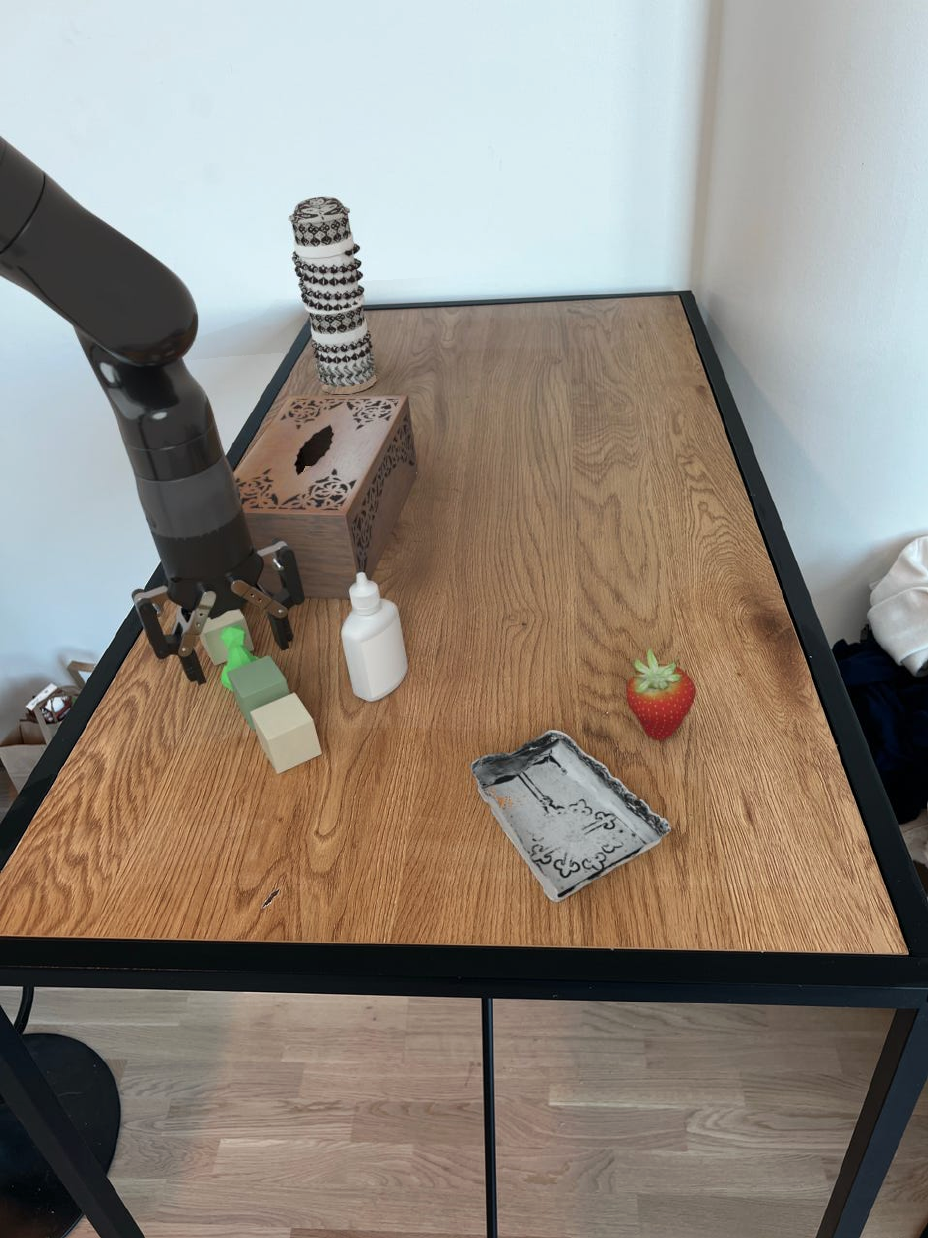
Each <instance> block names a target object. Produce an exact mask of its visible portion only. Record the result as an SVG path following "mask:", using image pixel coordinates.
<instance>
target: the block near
mask: <svg viewBox="0 0 928 1238" xmlns="http://www.w3.org/2000/svg"><path fill="white" fill-rule="evenodd" d="M250 713H251V716H252V719H253V723H254V726H255V729H256V730H255V732H256V736H257V738H258V742H259V744H260V747H261V748H262V750H263V752H264V754H265V756H266V757H267V759H268V760H269V762H270V764H271V765H272V767H273V769H274V771H275V773H276V774H277V775H279V774H282V773H283V772H286V771H288V770H290V769H293V768H294V767H296V766H299V765H301V764H303V763H305V762H307V761H309V760H313V759H314V758H315V757H318V756H320V755H322V754H323V752H322V748H321V744H320V741H319V737H318V733H317V729H316V724H315V722H314V719H313V718H312V716H311V714H310V713H309V711H308V710H307V708H306V706H304V704H303V702H302V700H300V698H299V697H298V695H297V694H296V692H292V693H290V695H288V696H285V697H283V698H281V699H278V700H276V701H274V702H271V703H269V704H267V705H264V706H262V707H260V708H257V709H255V710H253V711H251V712H250Z"/></svg>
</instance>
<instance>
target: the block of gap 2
mask: <svg viewBox="0 0 928 1238" xmlns="http://www.w3.org/2000/svg"><path fill="white" fill-rule="evenodd" d="M227 675H228V678H229V681H230V684H231V687H232V690H233V692H232V693H233V696H234V699H235V702H236V704H237V707H238V709H239V711H240V712H241V714H242V716H243V717H244V719H245V721H246V722H247V724H248V726H249V727H250V729H251V731H252V732H254V731H256V729H255V726H254V723H253V719H252V716H251V713H250V712H251V711H253V710H255V709H257V708H260V707H262V706H264V705H267V704H269V703H271V702H274V701H276V700H278V699H281V698H283V697H285V696H288V695H290V694H291V692H290V689H289V685H288V681H287V678H286V677H285V675H284V674H283V672H282V671H281V669H280V668H279V666H278V665H277V664H276V662H275V660H274V659H273V658H272V655H270V654H268V655H265V656H263V657H259V659H258V660H255V661H253V662H251V663H248V664H246V665H243V666H241V667H238V668H236V669H234V670H231V671H229V672H227Z"/></svg>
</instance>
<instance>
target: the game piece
mask: <svg viewBox="0 0 928 1238" xmlns="http://www.w3.org/2000/svg"><path fill="white" fill-rule="evenodd" d="M245 637H246V634H245V632H244V631H243V630H242V628H241V627H240V626H239V625H234V626H230V627H226V628H223V631H222V634H221V637H220V638H221V640H222V642H223V643H224V644H225V645H226V647H227V648H228V649H229V654H228V661H226V665H225V666H224V667H223V669H222V672H221V676H220V680H221V684H222V686H223V687H225V688H226V689H228V690H229V691H231V692H232V693H233V690H232V687H231V684H230V681H229V678H228V675H227V672H229V671H231V670H234V669H236V668H238V667H241V666H243V665H246V664H248V663H251V662H253V661H255V660H258V659H260V657H258V656H256V655H253V654H252V653H251V651H250V652H249V651H248V650H247V649H246V648H245V647H244V646H243V643H244V640H245Z"/></svg>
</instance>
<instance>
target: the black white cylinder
mask: <svg viewBox="0 0 928 1238" xmlns="http://www.w3.org/2000/svg"><path fill="white" fill-rule="evenodd" d="M350 213H351V209H350V208H349V207H347V206H345V205H344V204H343V203H342V202H341V201H340V200H339V199H338V198H337V197H333V196H318V197H311V198H307V199H304V200H302V201H299V202H298V203H297V204H296V205H295V207H294V210H293V213H291V215H289V216H288V221H290V224H291V227H292V233H293V237H294V240H293V247H294V251H293V252H292V257H291V261H292V262H293V264H294V265H295V267H294V272H295V276H296V277H298V278H299V280H298V281H299V282H298V284H297V285H298V287H299V288H300V291H301V294H300V297H301V300H302V303H304V306H303V307H304V310H305V311H306V312H308V314H309V321H310V324H311V325H310V332H311V338H312V339H311V342H310V343H311V348H313V349H314V350H313V357H314V358H315V359H316V360H315V369H316V371H317V379H318V381H319V383H320V382H322V383H324V384H325V385H329V384H330V385H331V386H333V387H336V386H337V385H340V386H341V387H346V385H351V386H354V385H355V384H359V383H360V384H363V383H364V382H365V381H369V380H370V379H371V377H373V376H374V375H375V374H376V371H377V367H376V364H375V363H374V362H375V360H376V357H375V356H374V352H372V349H373V348H374V347H373V344H372V341H371V340H370V339H371V338H372V334H371V332H370V330H369V329H368V324H367V319H366V317H365V314H364V313H365V312H364V307H363V304H364V303H365V299H366V297H365V295H364V293H365V287H363V286H362V285H360V284H359V281H361V279H362V278H364V273H363V272H362V271H360V270H358V269H360V268H361V266H362V263H363V262H362V261H361V260H360V259H358V258H357V257H355V254H356V255H357V253H358V252H359V251H360V250H361V246H360V245H359V244H357V243H355V241H354V236H353V235H354V234H353V232H352V230H351V223H350V218H349V214H350Z"/></svg>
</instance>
